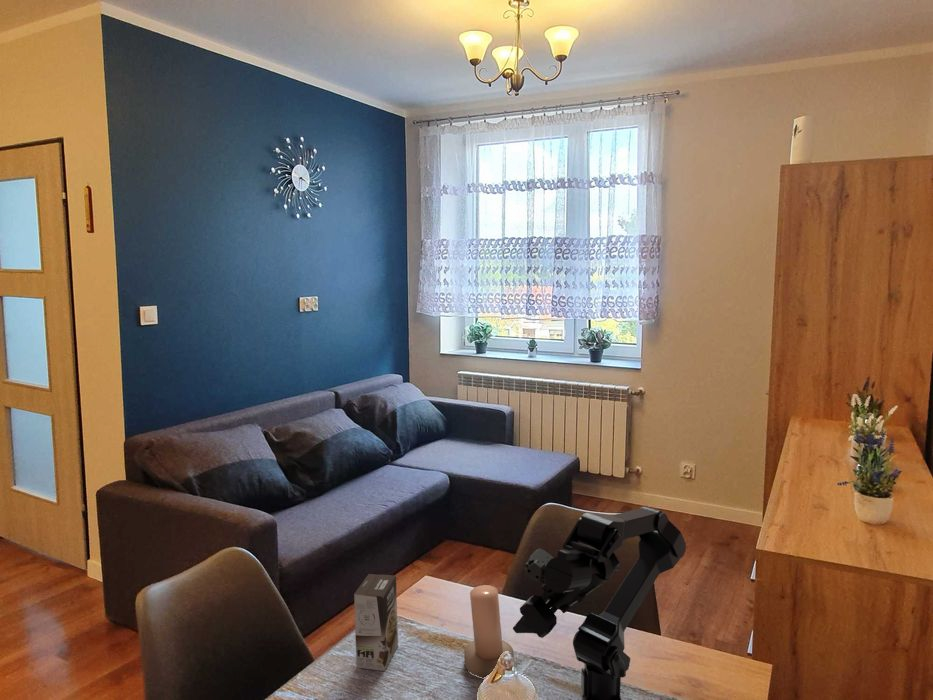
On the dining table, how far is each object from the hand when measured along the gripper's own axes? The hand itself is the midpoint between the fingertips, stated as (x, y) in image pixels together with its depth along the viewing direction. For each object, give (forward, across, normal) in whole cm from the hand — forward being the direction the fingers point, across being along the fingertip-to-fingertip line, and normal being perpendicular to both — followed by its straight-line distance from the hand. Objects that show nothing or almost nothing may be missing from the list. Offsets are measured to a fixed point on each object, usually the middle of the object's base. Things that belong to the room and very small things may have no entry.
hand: (525, 618), depth 126 cm
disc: (+16, -2, +4) cm, 17 cm away
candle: (+14, -2, +1) cm, 14 cm away
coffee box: (+31, +7, -12) cm, 34 cm away
